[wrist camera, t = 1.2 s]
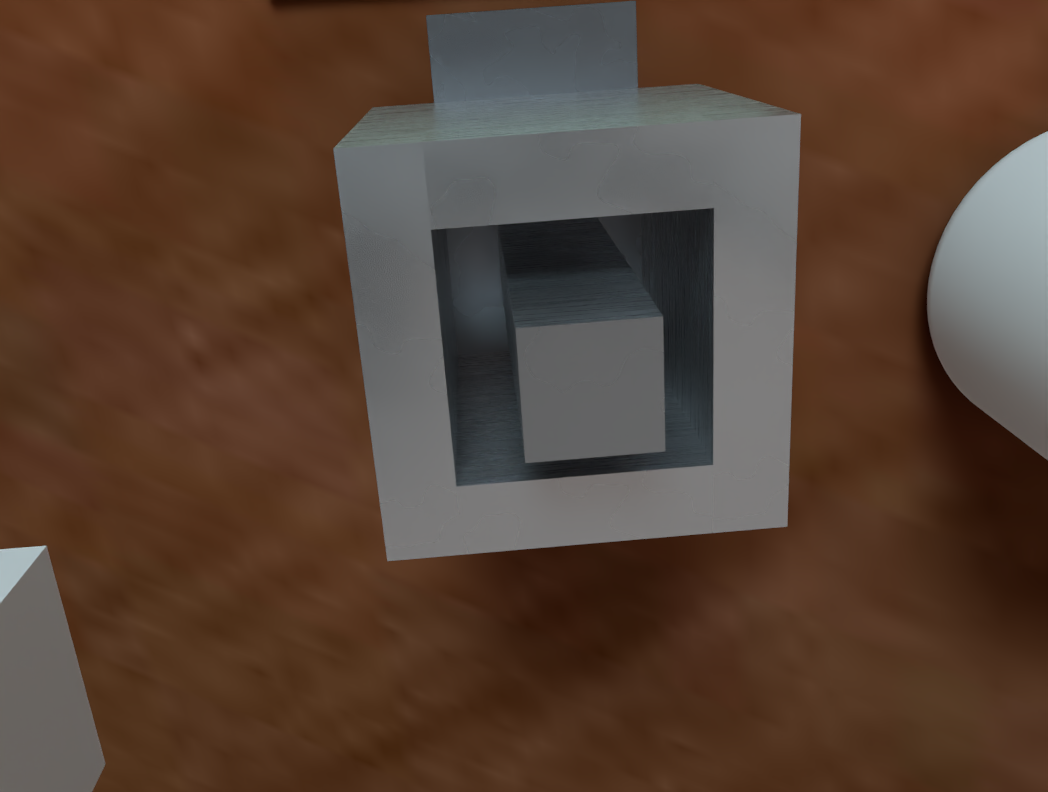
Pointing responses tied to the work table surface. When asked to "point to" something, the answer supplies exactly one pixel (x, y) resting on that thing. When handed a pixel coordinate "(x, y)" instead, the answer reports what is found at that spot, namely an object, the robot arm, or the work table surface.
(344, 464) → the work table surface
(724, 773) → the work table surface
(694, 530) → the collar
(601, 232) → the grey block
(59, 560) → the work table surface
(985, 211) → the cup
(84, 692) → the robot arm
